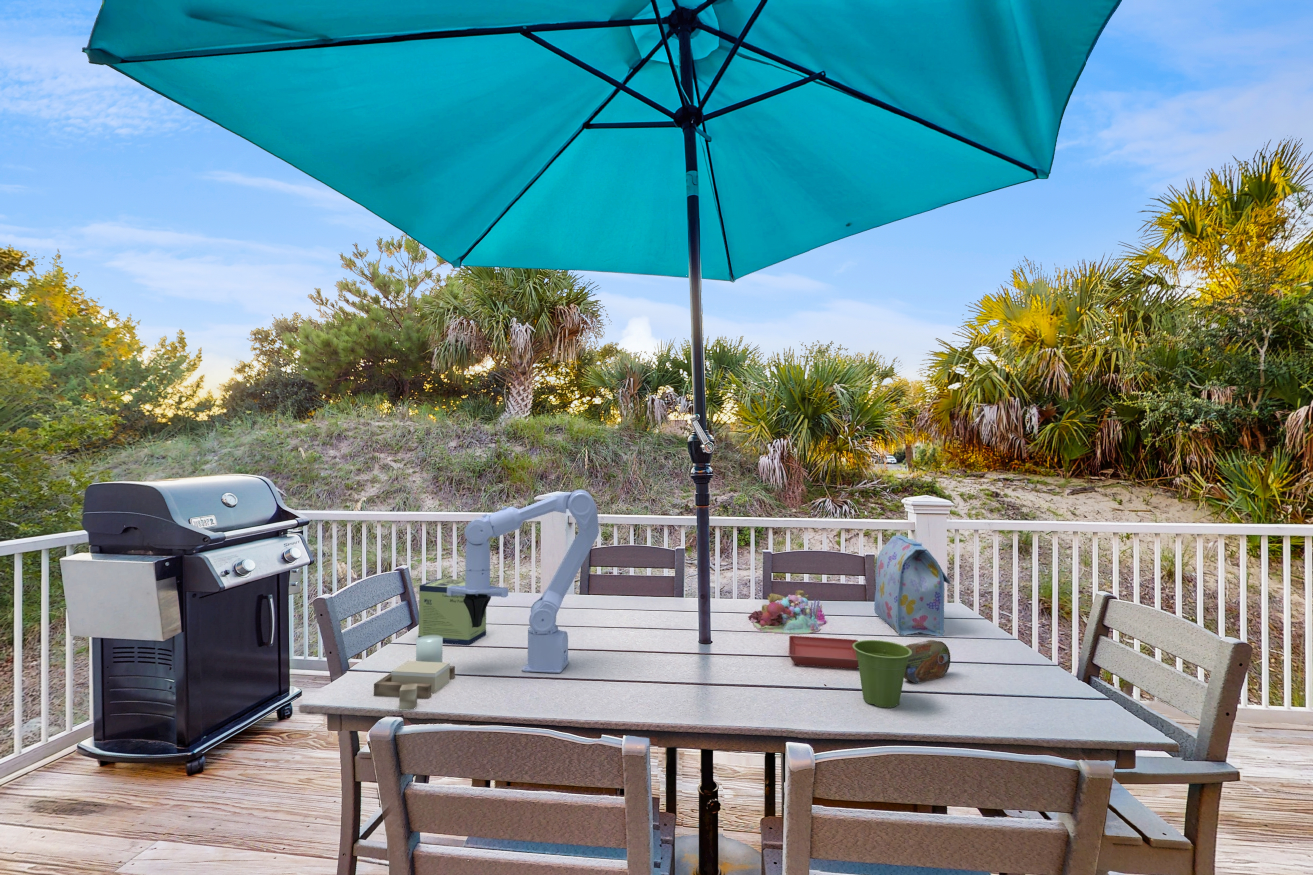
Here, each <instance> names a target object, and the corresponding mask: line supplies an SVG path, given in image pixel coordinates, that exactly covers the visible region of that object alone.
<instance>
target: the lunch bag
mask: <svg viewBox="0 0 1313 875" xmlns="http://www.w3.org/2000/svg"><path fill="white" fill-rule="evenodd" d="M875 565H876V568H875V569H876V571H875V572H876V574H875V575H876V581H875V592H874V593H875V594H874V605H873V606H874V609H873V610H874V614H875V615H876V616H878V617H879V618H880V619H882V620H883V621H884V622H885V623H886V624H888V625H889V627H891V628H893V629H894V631H896V633H897V634H898V635H903V636H907V635H911V634H917V633H918V634H922V635H923V634H924V635H931V636H932V635H933V636H936V637H943V636H944V635H945V634H944V633H945V583H946V584H947V585H951V581H950V579H949V578H948V576H947V575H946V573H945V572H944V570H943V569H942V567H941V565H940V564H939V562H938V560H937V559H936V558H935V557H934V556H933V555H932V553H930V551H929V550H928V549H927V548H925V547H923V543H922V542H917V541H916V540H914V539H913V538H909V537H907V536H904V535H903V534H900V535H899V534H898V535H896V534H895V535H893V536H891V538H890V539H889V540H888V541H887V543H886V544H885V545H884V546H883V547H882V549H881V550H880V551H879V553H878V555H877V558H876V564H875Z"/></svg>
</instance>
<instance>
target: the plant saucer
mask: <svg viewBox="0 0 1313 875" xmlns="http://www.w3.org/2000/svg"><path fill="white" fill-rule="evenodd" d="M858 641H859V640H858V639H850V638H835V637H821V636H820V637H819V636H803V635H789V636H788V655H789V657H790V659H791V660H792V662H794V664H795V665H796V666H805V667H819V668H832V669H833V668H834V669H845V670H847V669H848V670H857V669H859V665H858V660H857V658H856V652H855V649H854V648H853V646H852V645H853V644H854V643H855V642H858Z"/></svg>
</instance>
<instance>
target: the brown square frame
mask: <svg viewBox="0 0 1313 875" xmlns="http://www.w3.org/2000/svg"><path fill="white" fill-rule="evenodd" d="M455 677H456V666H453V665H450V672H449V680H453V679H454V678H455ZM410 684H417V699H425V700H427V699H429V698H430V697H431V696H432V693H431V686H432V684H420V683H401V682H392V675H391V672H389V673H388V674H387V675H385V676H384V677H382V678H381V679H379V680H377V681H376V682H374V684H373V697H374V696H377V697H378V696H379V697H390V698H391V697H394V698H399V694H400V688H401V686H402V685H410Z"/></svg>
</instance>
